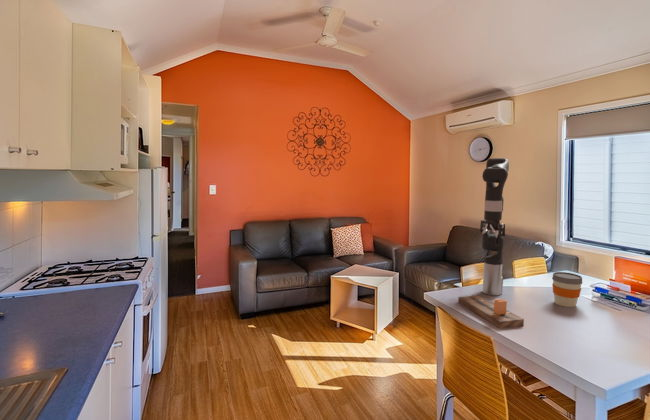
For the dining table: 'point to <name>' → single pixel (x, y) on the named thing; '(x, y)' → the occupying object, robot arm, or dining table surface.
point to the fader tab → (500, 306)
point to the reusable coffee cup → (566, 288)
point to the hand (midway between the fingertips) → (491, 243)
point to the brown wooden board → (490, 312)
